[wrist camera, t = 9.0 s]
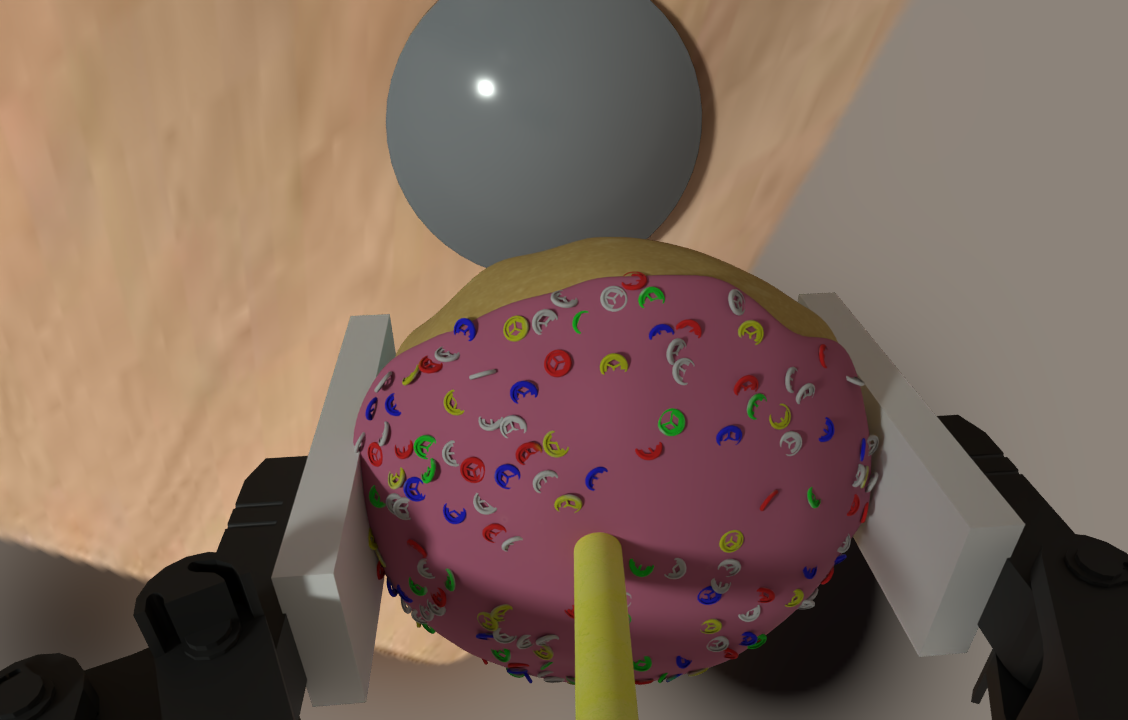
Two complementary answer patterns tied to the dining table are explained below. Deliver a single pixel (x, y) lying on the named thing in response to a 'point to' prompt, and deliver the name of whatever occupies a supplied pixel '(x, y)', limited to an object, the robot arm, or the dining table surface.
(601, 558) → the cupcake
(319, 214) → the dining table surface
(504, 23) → the coaster
